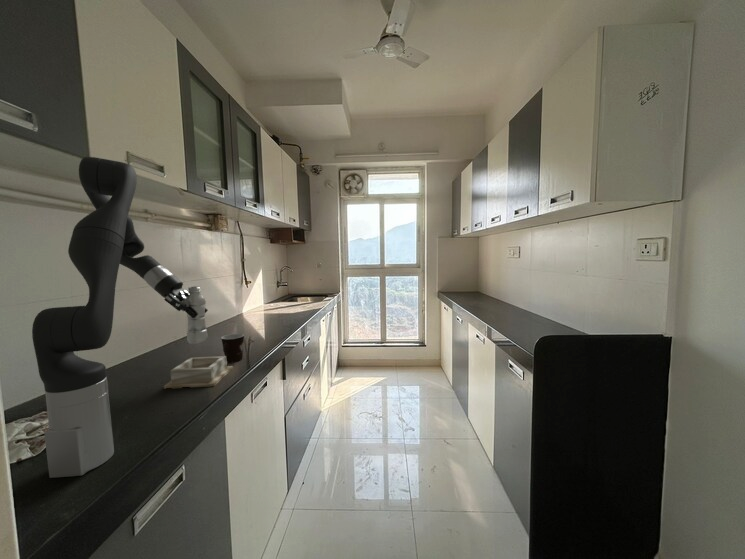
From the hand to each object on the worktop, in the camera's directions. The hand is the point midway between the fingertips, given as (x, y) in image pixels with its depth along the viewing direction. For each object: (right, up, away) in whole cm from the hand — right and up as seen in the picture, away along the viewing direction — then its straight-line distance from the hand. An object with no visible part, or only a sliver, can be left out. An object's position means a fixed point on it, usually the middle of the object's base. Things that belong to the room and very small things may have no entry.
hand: (201, 314), depth 106 cm
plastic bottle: (-1, -11, +1) cm, 11 cm away
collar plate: (-1, -23, +2) cm, 23 cm away
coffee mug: (+2, -22, +19) cm, 29 cm away
